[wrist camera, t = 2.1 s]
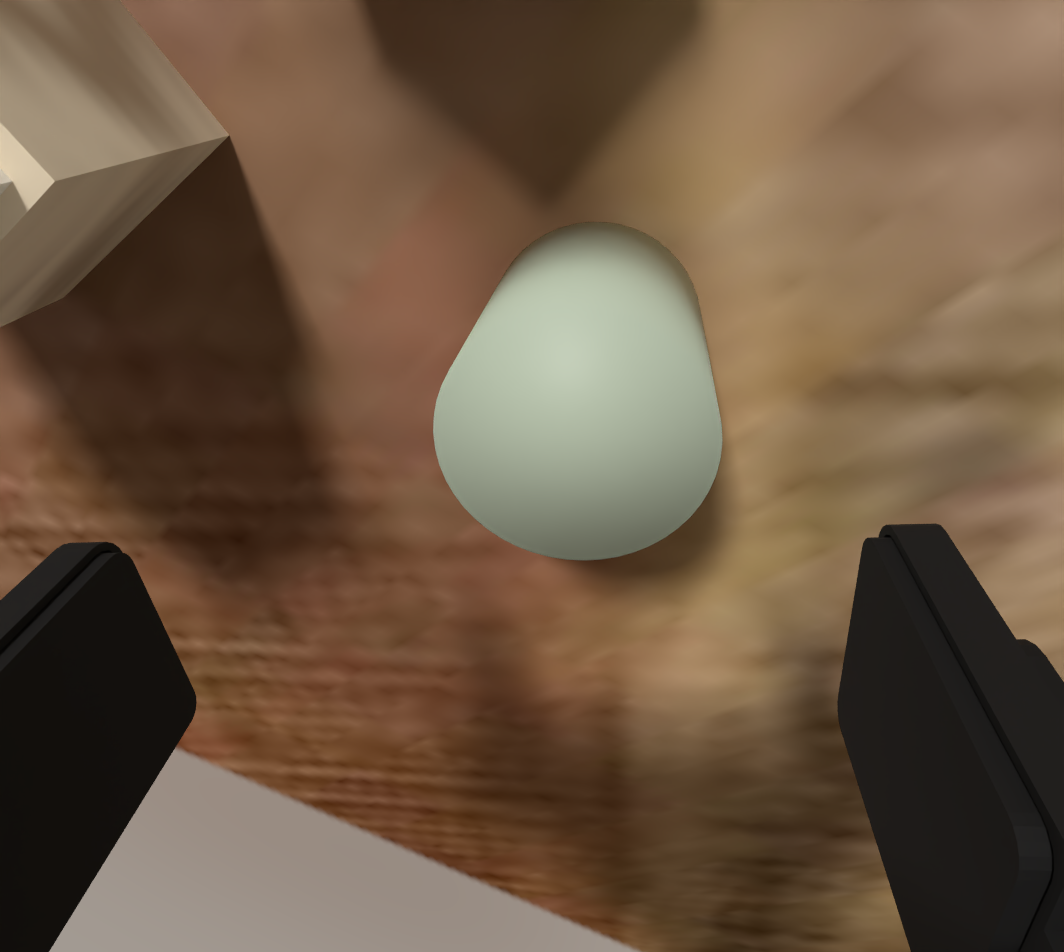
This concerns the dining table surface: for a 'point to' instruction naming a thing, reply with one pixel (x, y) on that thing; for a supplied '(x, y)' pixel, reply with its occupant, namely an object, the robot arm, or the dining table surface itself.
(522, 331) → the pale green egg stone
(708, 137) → the dining table surface
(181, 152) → the tower base
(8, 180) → the tower top
